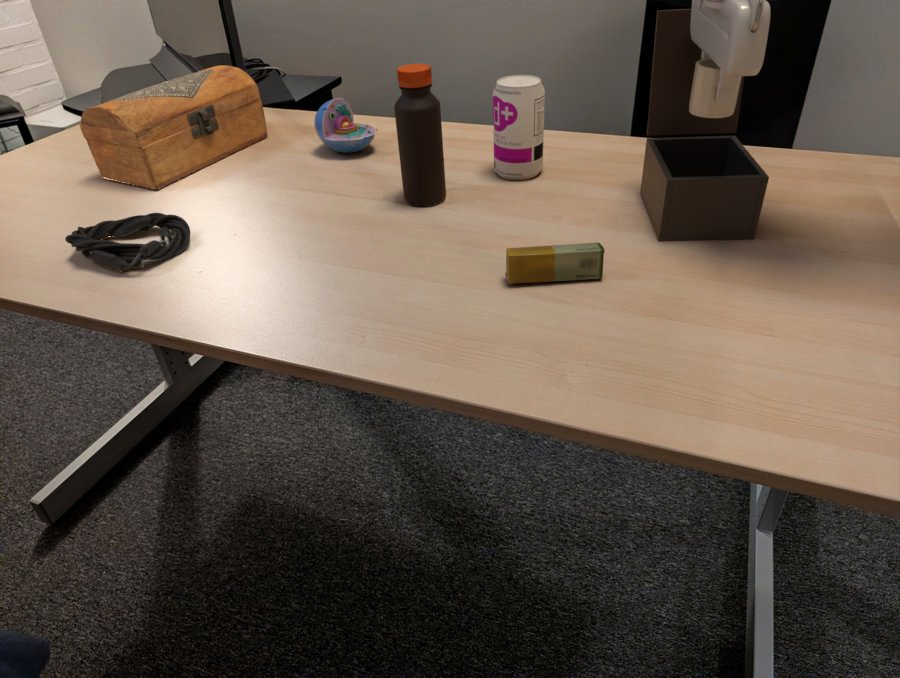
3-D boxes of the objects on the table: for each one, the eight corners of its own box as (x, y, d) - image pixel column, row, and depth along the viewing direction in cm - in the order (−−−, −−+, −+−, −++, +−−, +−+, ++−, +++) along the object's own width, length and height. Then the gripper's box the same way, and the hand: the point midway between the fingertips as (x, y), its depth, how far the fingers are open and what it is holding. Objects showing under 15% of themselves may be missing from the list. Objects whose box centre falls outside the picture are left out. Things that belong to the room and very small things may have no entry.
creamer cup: (727, 104, 88) (736, 56, 84) (739, 117, 83) (749, 68, 79) (684, 105, 88) (691, 58, 84) (694, 119, 83) (702, 70, 80)
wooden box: (158, 193, 113) (130, 112, 105) (98, 179, 120) (68, 102, 112) (276, 137, 133) (260, 66, 125) (218, 128, 141) (200, 60, 132)
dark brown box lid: (754, 5, 87) (752, 5, 88) (658, 10, 88) (657, 10, 89) (736, 132, 94) (734, 131, 95) (647, 135, 95) (646, 134, 96)
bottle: (395, 199, 105) (380, 69, 93) (428, 186, 108) (417, 59, 97) (422, 211, 101) (409, 76, 89) (455, 197, 104) (447, 66, 92)
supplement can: (511, 185, 107) (511, 91, 98) (485, 170, 113) (483, 80, 104) (552, 173, 110) (555, 81, 101) (524, 159, 116) (525, 71, 107)
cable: (54, 259, 95) (42, 232, 92) (131, 219, 105) (122, 193, 102) (135, 281, 88) (124, 253, 85) (210, 236, 98) (202, 210, 95)
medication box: (598, 270, 83) (600, 241, 81) (603, 279, 81) (606, 249, 79) (505, 275, 83) (505, 246, 81) (507, 284, 81) (507, 255, 79)
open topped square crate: (754, 239, 88) (769, 177, 82) (658, 241, 89) (667, 179, 84) (723, 191, 100) (735, 135, 95) (639, 193, 101) (646, 138, 96)
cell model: (360, 163, 119) (353, 110, 113) (308, 156, 124) (298, 104, 118) (389, 145, 126) (383, 94, 120) (339, 138, 131) (331, 89, 125)
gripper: (796, -15, 67) (765, 119, 76) (739, -40, 84) (719, 73, 92) (733, -12, 68) (709, 121, 76) (689, -37, 84) (673, 74, 93)
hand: (714, 94), depth 84 cm, fingers closed on creamer cup, 6 cm apart
